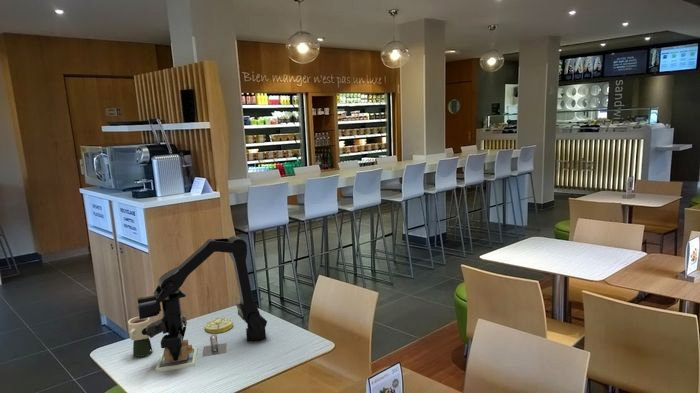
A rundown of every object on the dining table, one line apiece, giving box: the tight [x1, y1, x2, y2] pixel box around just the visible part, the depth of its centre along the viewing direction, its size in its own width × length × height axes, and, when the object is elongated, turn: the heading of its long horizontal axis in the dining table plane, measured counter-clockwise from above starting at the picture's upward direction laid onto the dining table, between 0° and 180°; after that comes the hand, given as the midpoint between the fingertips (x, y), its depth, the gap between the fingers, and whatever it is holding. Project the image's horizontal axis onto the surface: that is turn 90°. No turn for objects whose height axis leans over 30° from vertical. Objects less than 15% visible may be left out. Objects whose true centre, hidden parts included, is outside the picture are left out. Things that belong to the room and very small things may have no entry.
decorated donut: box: [203, 317, 234, 335], centre depth 185 cm, size 10×11×4 cm
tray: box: [155, 346, 198, 373], centre depth 160 cm, size 12×12×2 cm
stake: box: [201, 334, 227, 358], centre depth 167 cm, size 8×8×6 cm
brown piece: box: [163, 338, 194, 364], centre depth 160 cm, size 7×8×4 cm
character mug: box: [127, 316, 153, 357], centre depth 167 cm, size 11×7×13 cm, turn 174°
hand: (177, 355), depth 160 cm, fingers closed on brown piece, 7 cm apart
